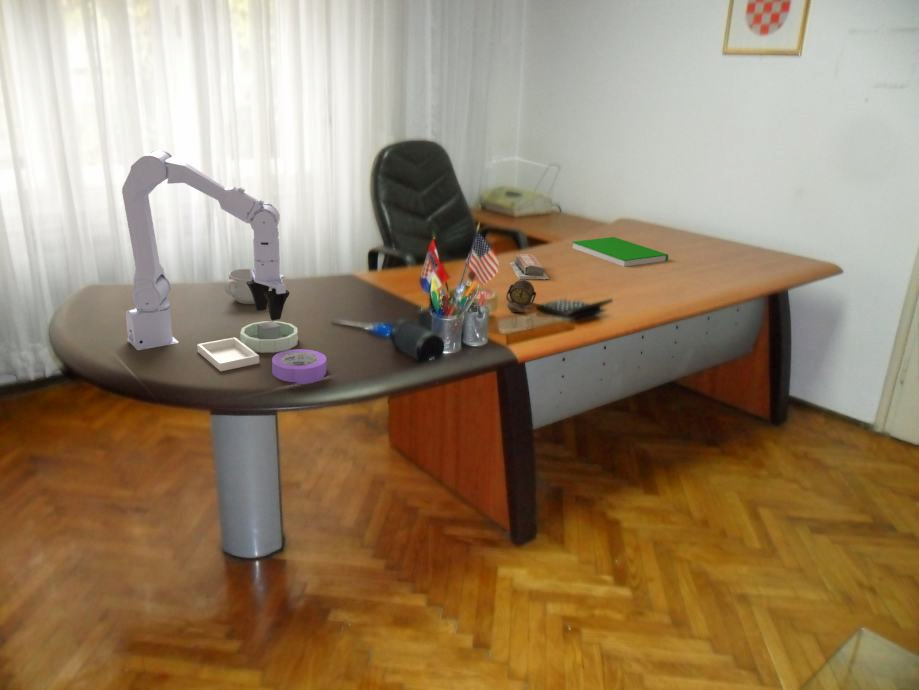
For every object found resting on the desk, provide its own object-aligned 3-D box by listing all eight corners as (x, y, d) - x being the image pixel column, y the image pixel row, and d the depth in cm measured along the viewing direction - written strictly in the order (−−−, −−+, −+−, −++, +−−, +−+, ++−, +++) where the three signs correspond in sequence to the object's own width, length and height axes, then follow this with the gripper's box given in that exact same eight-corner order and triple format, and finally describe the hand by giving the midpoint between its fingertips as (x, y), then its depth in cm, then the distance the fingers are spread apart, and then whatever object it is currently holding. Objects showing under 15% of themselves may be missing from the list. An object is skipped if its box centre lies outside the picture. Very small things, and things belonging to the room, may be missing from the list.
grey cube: (265, 346, 179) (264, 328, 177) (257, 340, 181) (257, 323, 180) (280, 343, 181) (280, 325, 179) (273, 337, 184) (272, 320, 182)
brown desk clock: (548, 288, 220) (520, 274, 224) (526, 293, 210) (498, 278, 214) (540, 310, 223) (513, 295, 227) (518, 316, 212) (490, 301, 217)
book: (623, 268, 268) (624, 260, 267) (571, 249, 290) (572, 241, 289) (667, 262, 280) (668, 254, 279) (613, 244, 302) (614, 236, 300)
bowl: (256, 358, 173) (255, 344, 172) (232, 340, 182) (232, 327, 181) (307, 347, 181) (307, 334, 179) (282, 331, 190) (282, 318, 189)
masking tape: (288, 360, 173) (288, 345, 172) (335, 369, 171) (335, 353, 169) (262, 380, 163) (261, 363, 162) (311, 389, 160) (311, 372, 159)
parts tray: (220, 373, 164) (219, 363, 163) (198, 354, 173) (197, 344, 173) (259, 365, 169) (259, 355, 169) (235, 346, 179) (235, 337, 178)
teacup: (254, 292, 217) (253, 265, 214) (278, 301, 211) (277, 274, 208) (211, 302, 207) (210, 274, 204) (235, 312, 201) (234, 283, 198)
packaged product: (510, 252, 260) (538, 253, 262) (508, 265, 262) (537, 266, 264) (520, 266, 244) (550, 267, 245) (518, 280, 246) (548, 281, 247)
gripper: (297, 264, 171) (298, 321, 176) (269, 249, 181) (270, 303, 186) (268, 268, 167) (270, 326, 172) (240, 252, 177) (243, 307, 182)
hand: (268, 314), depth 179 cm, fingers open, 7 cm apart
